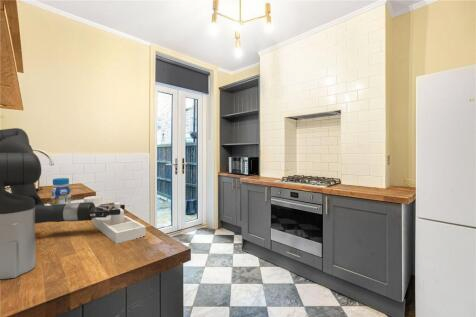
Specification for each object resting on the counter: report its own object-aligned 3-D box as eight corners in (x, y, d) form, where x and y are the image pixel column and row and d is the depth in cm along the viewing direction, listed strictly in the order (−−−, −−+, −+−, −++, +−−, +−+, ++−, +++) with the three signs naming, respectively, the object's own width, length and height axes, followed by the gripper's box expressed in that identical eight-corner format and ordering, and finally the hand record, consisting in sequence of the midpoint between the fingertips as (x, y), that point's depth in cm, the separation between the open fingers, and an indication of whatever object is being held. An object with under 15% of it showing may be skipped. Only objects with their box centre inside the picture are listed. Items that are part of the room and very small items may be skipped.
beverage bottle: (53, 215, 121) (52, 178, 121) (72, 213, 125) (72, 177, 125) (48, 219, 114) (48, 179, 113) (69, 217, 117) (69, 179, 117)
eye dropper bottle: (120, 225, 101) (120, 198, 101) (124, 228, 97) (124, 200, 97) (109, 227, 98) (109, 199, 98) (113, 230, 94) (113, 201, 94)
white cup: (81, 218, 115) (81, 199, 115) (87, 214, 122) (87, 196, 122) (98, 217, 117) (98, 198, 117) (103, 213, 125) (103, 195, 124)
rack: (145, 236, 91) (145, 226, 91) (116, 243, 83) (116, 233, 83) (119, 220, 112) (118, 212, 112) (93, 225, 105) (93, 216, 104)
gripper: (72, 206, 87) (118, 204, 91) (86, 199, 100) (125, 197, 105) (72, 226, 87) (118, 222, 91) (86, 216, 101) (126, 213, 105)
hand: (122, 209), depth 98 cm, fingers open, 8 cm apart
